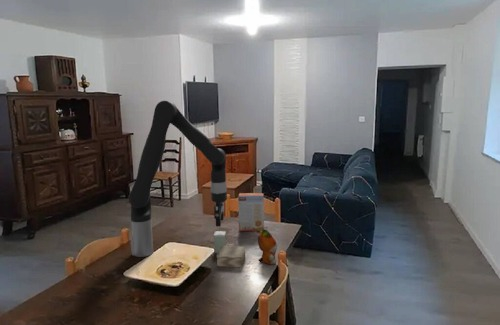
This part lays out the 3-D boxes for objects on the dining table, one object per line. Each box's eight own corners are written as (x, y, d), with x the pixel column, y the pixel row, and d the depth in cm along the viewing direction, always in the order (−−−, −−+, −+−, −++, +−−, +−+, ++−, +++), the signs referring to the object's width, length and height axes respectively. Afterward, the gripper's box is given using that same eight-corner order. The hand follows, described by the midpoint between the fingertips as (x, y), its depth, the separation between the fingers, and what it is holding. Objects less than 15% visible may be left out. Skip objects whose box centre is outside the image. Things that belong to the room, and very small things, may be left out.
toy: (275, 266, 161) (275, 234, 158) (255, 265, 163) (255, 233, 160) (278, 256, 172) (278, 225, 169) (260, 254, 173) (259, 224, 171)
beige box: (216, 266, 162) (216, 256, 162) (222, 255, 174) (221, 245, 173) (242, 267, 161) (241, 257, 160) (245, 256, 172) (245, 246, 171)
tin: (214, 252, 176) (213, 235, 175) (216, 248, 181) (215, 231, 180) (224, 253, 176) (224, 235, 174) (226, 248, 181) (226, 231, 179)
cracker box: (264, 228, 209) (264, 192, 206) (263, 231, 203) (263, 195, 200) (240, 227, 211) (239, 192, 207) (238, 231, 205) (238, 195, 201)
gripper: (213, 187, 181) (214, 218, 184) (208, 194, 167) (209, 228, 170) (228, 187, 180) (229, 218, 183) (224, 194, 166) (225, 228, 169)
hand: (219, 223), depth 176 cm, fingers open, 8 cm apart
